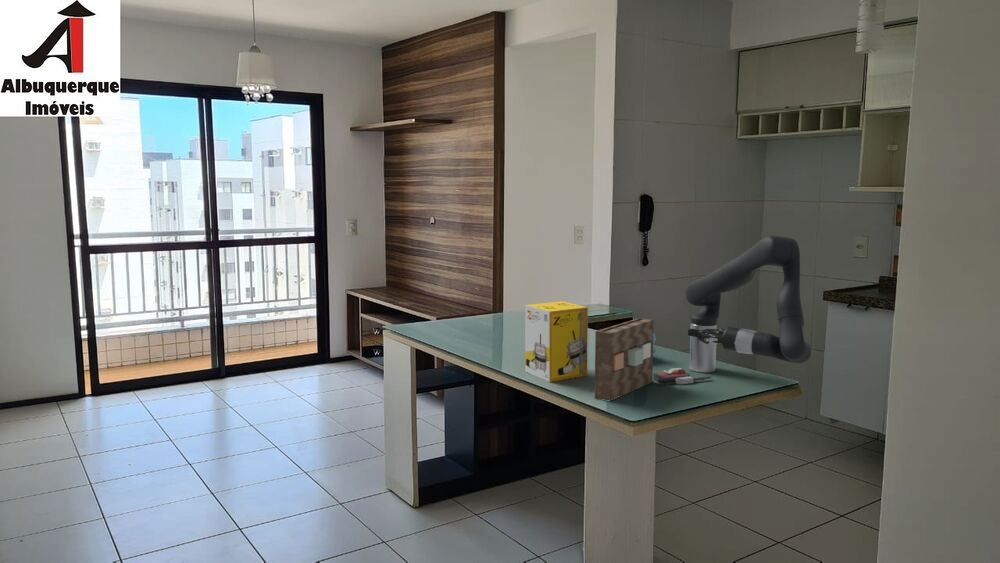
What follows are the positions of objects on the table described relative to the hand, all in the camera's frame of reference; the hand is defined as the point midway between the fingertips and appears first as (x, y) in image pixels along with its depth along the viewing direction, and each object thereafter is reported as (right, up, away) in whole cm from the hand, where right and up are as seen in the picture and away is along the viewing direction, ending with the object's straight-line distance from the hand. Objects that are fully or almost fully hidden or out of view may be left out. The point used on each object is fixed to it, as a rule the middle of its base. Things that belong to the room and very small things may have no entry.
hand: (689, 331), depth 231 cm
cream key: (-13, -10, +12) cm, 20 cm away
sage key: (-17, -11, +4) cm, 21 cm away
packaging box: (-41, -17, +28) cm, 53 cm away
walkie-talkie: (+2, -19, +18) cm, 26 cm away
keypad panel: (-20, -20, +7) cm, 29 cm away
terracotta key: (-25, -12, -2) cm, 27 cm away
